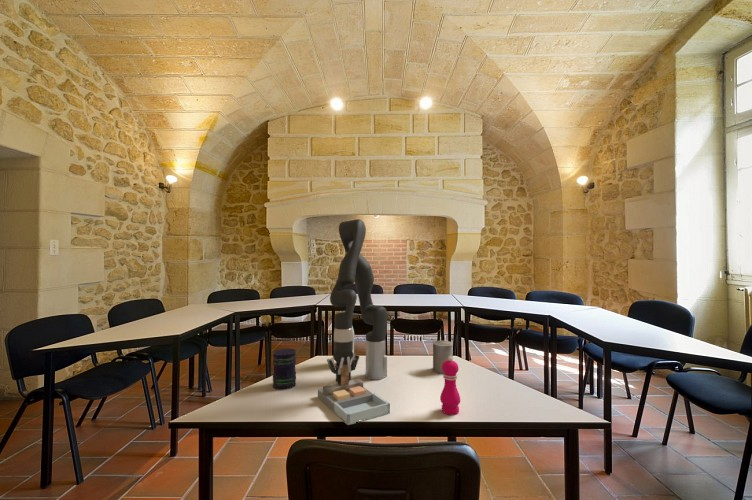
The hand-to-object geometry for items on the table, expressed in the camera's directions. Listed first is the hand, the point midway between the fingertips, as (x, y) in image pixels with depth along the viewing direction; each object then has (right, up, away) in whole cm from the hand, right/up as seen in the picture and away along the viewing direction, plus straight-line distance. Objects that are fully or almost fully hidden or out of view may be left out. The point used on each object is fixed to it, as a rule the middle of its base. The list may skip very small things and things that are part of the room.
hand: (343, 382), depth 138 cm
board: (+1, -6, -1) cm, 7 cm away
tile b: (0, -3, -6) cm, 7 cm away
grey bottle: (-3, -7, +41) cm, 42 cm away
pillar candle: (+46, -7, +33) cm, 57 cm away
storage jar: (-27, -7, +13) cm, 31 cm away
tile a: (+6, -3, -3) cm, 7 cm away
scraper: (0, -3, 0) cm, 3 cm away
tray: (+8, -6, -13) cm, 16 cm away
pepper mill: (+40, -6, -12) cm, 43 cm away
